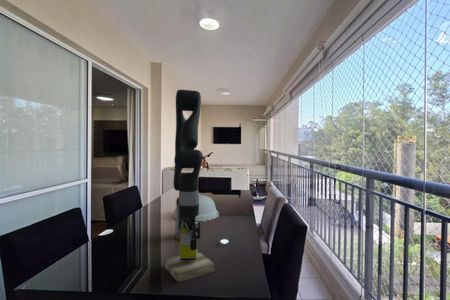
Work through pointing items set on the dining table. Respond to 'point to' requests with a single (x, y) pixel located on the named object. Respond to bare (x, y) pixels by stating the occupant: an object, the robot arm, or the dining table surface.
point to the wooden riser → (188, 267)
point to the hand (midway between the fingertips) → (188, 246)
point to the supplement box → (186, 246)
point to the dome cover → (205, 209)
